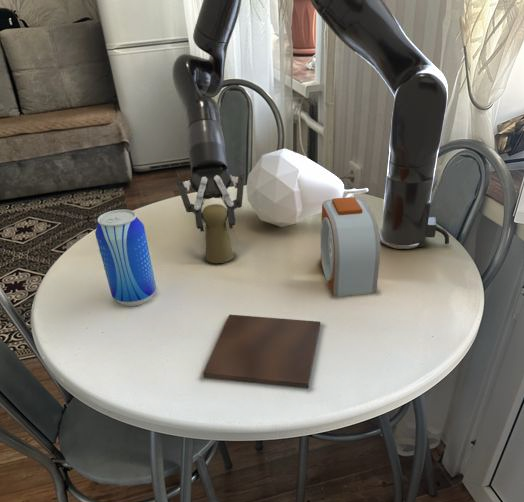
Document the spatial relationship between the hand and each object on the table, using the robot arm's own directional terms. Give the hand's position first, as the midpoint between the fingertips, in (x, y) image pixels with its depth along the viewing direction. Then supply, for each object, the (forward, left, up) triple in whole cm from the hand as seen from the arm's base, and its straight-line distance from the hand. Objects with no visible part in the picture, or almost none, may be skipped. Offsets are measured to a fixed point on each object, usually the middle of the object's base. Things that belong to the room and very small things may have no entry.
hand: (216, 228), depth 101 cm
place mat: (-15, +28, -8) cm, 33 cm away
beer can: (+13, +15, -8) cm, 21 cm away
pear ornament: (-15, -23, -8) cm, 28 cm away
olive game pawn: (+1, -2, -7) cm, 8 cm away
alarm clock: (-26, +2, -8) cm, 28 cm away
